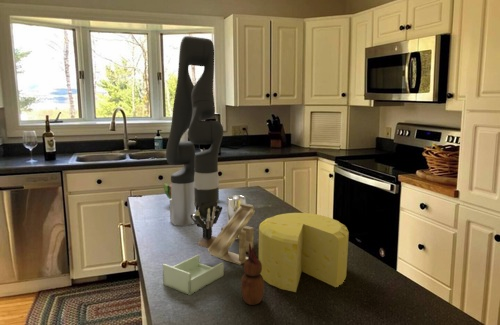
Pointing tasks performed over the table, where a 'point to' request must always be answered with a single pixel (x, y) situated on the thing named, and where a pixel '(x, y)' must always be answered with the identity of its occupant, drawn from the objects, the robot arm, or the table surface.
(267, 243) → the cheese
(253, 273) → the wooden figurine
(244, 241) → the fulcrum
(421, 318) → the table surface
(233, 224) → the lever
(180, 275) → the tray
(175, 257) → the table surface
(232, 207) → the beer glass
